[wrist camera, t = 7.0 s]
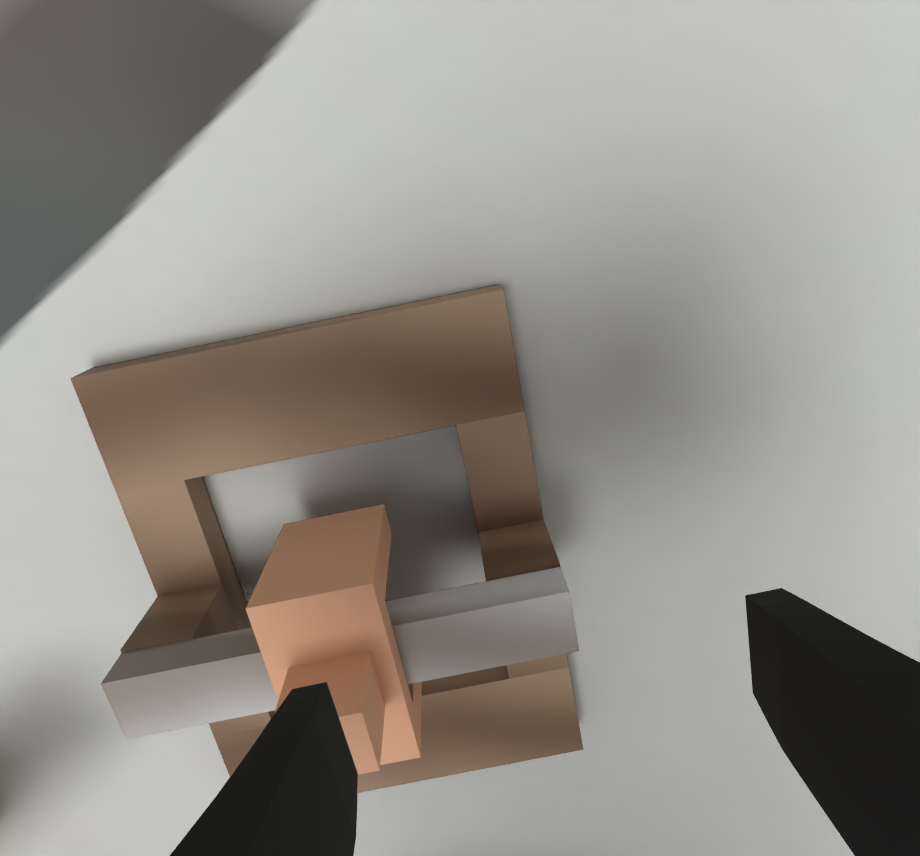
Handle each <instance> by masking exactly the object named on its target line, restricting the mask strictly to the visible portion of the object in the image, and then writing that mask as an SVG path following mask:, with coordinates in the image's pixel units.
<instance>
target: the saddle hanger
mask: <svg viewBox="0 0 920 856" xmlns="http://www.w3.org/2000/svg"><path fill="white" fill-rule="evenodd" d="M391 539H392V532H391V528H390V524H389V520H388V516H387V512H386V509H385V505H384V504H382V505H377V506H372V507H367V508H362V509H357V510H352V511H347V512H342V513H337V514H332V515H327V516H322V517H317V518H312V519H307V520H302V521H297V522H292V523H287V524H284V525H283V527H282V529H281V532H280V534H279V536H278V538H277V540H276V543H275V545H274V547H273V549H272V551H271V554H270V556H269V558H268V560H267V562H266V565H265V567H264V569H263V571H262V573H261V576H260V578H259V580H258V582H257V584H256V587H255V589H254V591H253V593H252V595H251V598H250V600H249V602H248V604H247V607H246V612H247V614H248V617H249V620H250V623H251V626H252V629H253V631H254V634H255V637H256V640H257V643H258V645H259V648H260V651H261V654H262V657H263V660H264V662H265V665H266V668H267V671H268V674H269V677H270V679H271V682H272V685H273V688H274V691H275V694H276V696H277V699H278V703H277V707H276V710H275V712H276V711H277V710H278V708H279V707H280V705H281V704H282V702H283V701H284V700H285V698H286V697H287V695H288V694H289V693H290V691H291V690H292V689H295V688H300V687H305V686H309V685H314V684H319V683H324V682H327V684H328V687H329V690H330V693H331V696H332V699H333V702H334V705H335V708H336V711H337V714H338V717H339V720H340V723H341V726H342V728H343V731H344V734H345V737H346V740H347V743H348V746H349V749H350V752H351V755H352V758H353V761H354V764H355V767H356V770H357V773H358V775H360V774H365V773H370V772H375V771H380V765H384V764H389V763H395V762H400V761H405V760H410V759H415V758H421V696H422V682H418V683H412V684H407V680H406V677H405V673H404V669H403V666H402V662H401V658H400V655H399V651H398V647H397V644H396V640H395V636H394V633H393V629H392V625H391V622H390V618H389V614H388V611H387V607H386V603H385V594H386V585H387V576H388V567H389V558H390V548H391ZM274 714H275V713H274Z"/></svg>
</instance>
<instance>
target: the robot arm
mask: <svg viewBox="0 0 920 856" xmlns="http://www.w3.org/2000/svg"><path fill="white" fill-rule="evenodd" d="M745 597H746V610H747V623H748V636H749V648H750V661H751V674H752V687H753V694H754V696H755V698H756V700H757V702H758V704H759V706H760V708H761V710H762V712H763V714H764V716H765V718H766V719H767V721H768V723H769V725H770V727H771V729H772V731H773V733H774V735H775V736H776V738H777V740H778V742H779V744H780V746H781V747H782V749H783V751H784V753H785V754H786V756H787V757H788V759H789V760H790V762H791V763H792V765H793V766H794V768H795V769H796V770H797V772H798V773H799V775H800V776H801V778H802V779H803V781H804V782H805V784H806V785H807V787H808V788H809V790H810V791H811V793H812V794H813V796H814V797H815V798H816V800H817V801H818V803H819V804H820V806H821V807H822V809H823V810H824V812H825V813H826V814H827V816H828V817H829V819H830V820H831V822H832V823H833V825H834V826H835V828H836V829H837V830H838V832H839V833H840V835H841V836H842V838H843V839H844V841H845V842H846V843H847V845H848V846H849V848H850V849H851V851H852V852H853V854H854V855H855V856H920V662H918V661H916V660H914V659H912V658H910V657H908V656H906V655H904V654H902V653H900V652H898V651H896V650H894V649H892V648H890V647H889V646H887V645H885V644H883V643H881V642H879V641H877V640H875V639H874V638H872V637H870V636H868V635H866V634H864V633H862V632H861V631H859V630H857V629H855V628H853V627H852V626H850V625H848V624H846V623H844V622H843V621H841V620H839V619H837V618H835V617H833V616H832V615H830V614H828V613H826V612H825V611H823V610H821V609H819V608H817V607H816V606H814V605H812V604H810V603H808V602H807V601H805V600H803V599H801V598H799V597H797V596H796V595H794V594H792V593H790V592H788V591H786V590H784V589H782V588H780V589H775V590H770V591H765V592H760V593H756V594H751V595H746V596H745ZM357 784H358V773H357V770H356V767H355V764H354V761H353V758H352V755H351V752H350V749H349V746H348V743H347V740H346V737H345V734H344V731H343V728H342V726H341V723H340V720H339V717H338V714H337V711H336V708H335V705H334V702H333V699H332V696H331V693H330V690H329V687H328V684H327V682H324V683H319V684H314V685H309V686H305V687H300V688H295V689H292V690H291V691H290V693H289V694H288V695H287V697H286V698H285V700H284V701H283V702H282V704H281V705H280V707H279V708H278V710H277V711H276V712H275V714H274V715H273V717H272V718H271V720H270V721H269V723H268V724H267V725H266V727H265V728H264V730H263V731H262V733H261V734H260V736H259V737H258V738H257V740H256V741H255V743H254V744H253V746H252V747H251V749H250V750H249V751H248V753H247V754H246V756H245V757H244V759H243V760H242V761H241V763H240V764H239V766H238V767H237V768H236V770H235V771H234V773H233V774H232V775H231V777H230V778H229V779H228V781H227V782H226V784H225V785H224V786H223V788H222V789H221V791H220V792H219V793H218V795H217V796H216V797H215V799H214V800H213V801H212V803H211V804H210V805H209V806H208V808H207V809H206V810H205V811H204V813H203V814H202V815H201V817H200V818H199V819H198V820H197V822H196V823H195V824H194V826H193V827H192V828H191V829H190V831H189V832H188V833H187V835H186V836H185V837H184V838H183V840H182V841H181V842H180V844H179V845H178V846H177V847H176V849H175V850H174V851H173V852H172V853H171V855H170V856H353V854H354V846H355V839H356V820H357Z"/></svg>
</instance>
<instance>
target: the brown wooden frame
mask: <svg viewBox="0 0 920 856" xmlns="http://www.w3.org/2000/svg"><path fill="white" fill-rule="evenodd" d="M71 381H72V383H73V386H74V388H75V391H76V393H77V396H78V398H79V401H80V403H81V406H82V408H83V411H84V413H85V416H86V418H87V421H88V423H89V426H90V428H91V431H92V433H93V436H94V438H95V441H96V443H97V446H98V448H99V451H100V453H101V456H102V458H103V461H104V463H105V466H106V468H107V471H108V473H109V476H110V478H111V481H112V483H113V486H114V488H115V491H116V493H117V496H118V498H119V500H120V503H121V505H122V508H123V510H124V513H125V515H126V518H127V520H128V523H129V525H130V528H131V530H132V533H133V535H134V538H135V540H136V543H137V545H138V548H139V550H140V553H141V555H142V558H143V560H144V563H145V565H146V568H147V570H148V573H149V575H150V578H151V580H152V583H153V585H154V588H155V590H156V593H157V595H158V597H157V598H156V600H155V601H154V603H153V604H152V605H151V607H150V608H149V610H148V611H147V613H146V614H145V616H144V617H143V618H142V620H141V621H140V623H139V624H138V626H137V627H136V629H135V630H134V631H133V633H132V634H131V636H130V637H129V639H128V640H127V642H126V643H125V644H124V646H123V647H122V649H121V653H122V654H121V655H120V657H119V658H118V660H117V661H116V662H115V664H114V665H113V667H112V668H111V670H110V671H109V673H108V674H107V676H106V677H105V678H104V680H103V681H102V683H101V685H102V687H103V689H104V692H105V694H106V696H107V698H108V700H109V703H110V705H111V707H112V709H113V711H114V714H115V716H116V718H117V720H118V722H119V725H120V727H121V729H122V731H123V733H124V736H125V738H126V739H130V738H135V737H141V736H146V735H151V734H156V733H161V732H166V731H171V730H177V729H182V728H187V727H192V726H197V725H202V724H207V723H209V725H210V728H211V730H212V733H213V735H214V738H215V740H216V743H217V745H218V748H219V750H220V753H221V755H222V758H223V760H224V763H225V765H226V768H227V770H228V773H229V775H230V777H231V775H232V774H233V773H234V771H235V770H236V768H237V767H238V766H239V764H240V763H241V761H242V760H243V759H244V757H245V756H246V754H247V753H248V751H249V750H250V749H251V747H252V746H253V744H254V743H255V741H256V740H257V738H258V737H259V736H260V734H261V733H262V731H263V730H264V728H265V727H266V725H267V724H268V723H269V721H270V720H271V718H272V717H273V715H274V713H275V710H276V707H277V703H278V699H277V696H276V694H275V691H274V688H273V685H272V682H271V679H270V677H269V674H268V671H267V668H266V665H265V662H264V660H263V657H262V654H261V651H260V648H259V645H258V643H257V640H256V637H255V634H254V631H253V629H252V626H251V623H250V620H249V617H248V614H247V612H246V607H247V603H246V600H245V598H244V595H243V592H242V589H241V586H240V583H239V581H238V578H237V575H236V572H235V569H234V566H233V563H232V561H231V558H230V555H229V552H228V549H227V546H226V544H225V541H224V538H223V535H222V532H221V529H220V526H219V524H218V521H217V518H216V515H215V512H214V509H213V507H212V504H211V501H210V498H209V495H208V492H207V489H206V487H205V484H204V481H203V478H202V476H207V475H212V474H217V473H222V472H227V471H232V470H237V469H242V468H247V467H251V466H256V465H261V464H266V463H271V462H276V461H281V460H286V459H291V458H296V457H301V456H306V455H311V454H316V453H321V452H326V451H331V450H336V449H341V448H346V447H350V446H355V445H360V444H365V443H370V442H375V441H380V440H385V439H390V438H395V437H400V436H405V435H410V434H415V433H420V432H425V431H430V430H435V429H440V428H444V427H449V426H454V425H456V428H457V432H458V437H459V442H460V447H461V451H462V456H463V461H464V466H465V471H466V475H467V480H468V485H469V490H470V494H471V499H472V504H473V509H474V513H475V518H476V523H477V528H478V532H479V539H480V545H481V552H482V558H483V564H484V571H485V577H486V581H485V582H480V583H475V584H470V585H465V586H460V587H455V588H450V589H445V590H440V591H435V592H430V593H425V594H419V595H414V596H409V597H404V598H399V599H394V600H389V601H385V603H386V607H387V611H388V614H389V618H390V622H391V625H392V629H393V633H394V636H395V640H396V644H397V647H398V651H399V655H400V658H401V662H402V666H403V669H404V673H405V677H406V680H407V684H412V683H418V682H422V696H421V758H415V759H410V760H405V761H400V762H395V763H389V764H384V765H380V771H375V772H370V773H365V774H360V775H358V784H357V793H359V792H364V791H370V790H375V789H380V788H385V787H390V786H396V785H401V784H406V783H411V782H417V781H422V780H427V779H432V778H437V777H443V776H448V775H453V774H458V773H463V772H469V771H474V770H479V769H484V768H489V767H495V766H500V765H505V764H510V763H515V762H521V761H526V760H531V759H536V758H541V757H547V756H552V755H557V754H562V753H567V752H573V751H578V750H583V745H582V740H581V734H580V728H579V722H578V717H577V711H576V705H575V699H574V694H573V688H572V682H571V676H570V670H569V665H568V659H567V653H571V652H577V651H579V647H578V641H577V635H576V629H575V623H574V617H573V611H572V605H571V599H570V593H569V589H568V587H567V584H566V581H565V579H564V576H563V573H562V570H561V568H560V563H559V561H558V558H557V555H556V552H555V550H554V547H553V544H552V542H551V539H550V536H549V533H548V531H547V528H546V525H545V523H544V520H543V515H542V509H541V503H540V497H539V492H538V486H537V480H536V474H535V468H534V463H533V457H532V451H531V445H530V440H529V434H528V428H527V422H526V417H525V411H524V405H523V399H522V393H521V388H520V382H519V376H518V370H517V365H516V359H515V353H514V347H513V342H512V336H511V330H510V324H509V318H508V313H507V307H506V301H505V295H504V290H503V288H502V287H501V286H500V285H494V286H489V287H484V288H479V289H474V290H470V291H465V292H460V293H455V294H450V295H445V296H440V297H436V298H431V299H426V300H421V301H416V302H411V303H406V304H402V305H397V306H392V307H387V308H382V309H377V310H372V311H368V312H363V313H358V314H353V315H348V316H343V317H338V318H334V319H329V320H324V321H319V322H314V323H309V324H304V325H300V326H295V327H290V328H285V329H280V330H275V331H270V332H266V333H261V334H256V335H251V336H246V337H241V338H236V339H231V340H227V341H222V342H217V343H212V344H207V345H202V346H197V347H193V348H188V349H183V350H178V351H173V352H168V353H163V354H159V355H154V356H149V357H144V358H139V359H134V360H129V361H125V362H120V363H115V364H110V365H105V366H100V367H95V368H91V369H89V370H87V371H85V372H83V373H81V374H79V375H77V376H75V377H73V378H71Z"/></svg>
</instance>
